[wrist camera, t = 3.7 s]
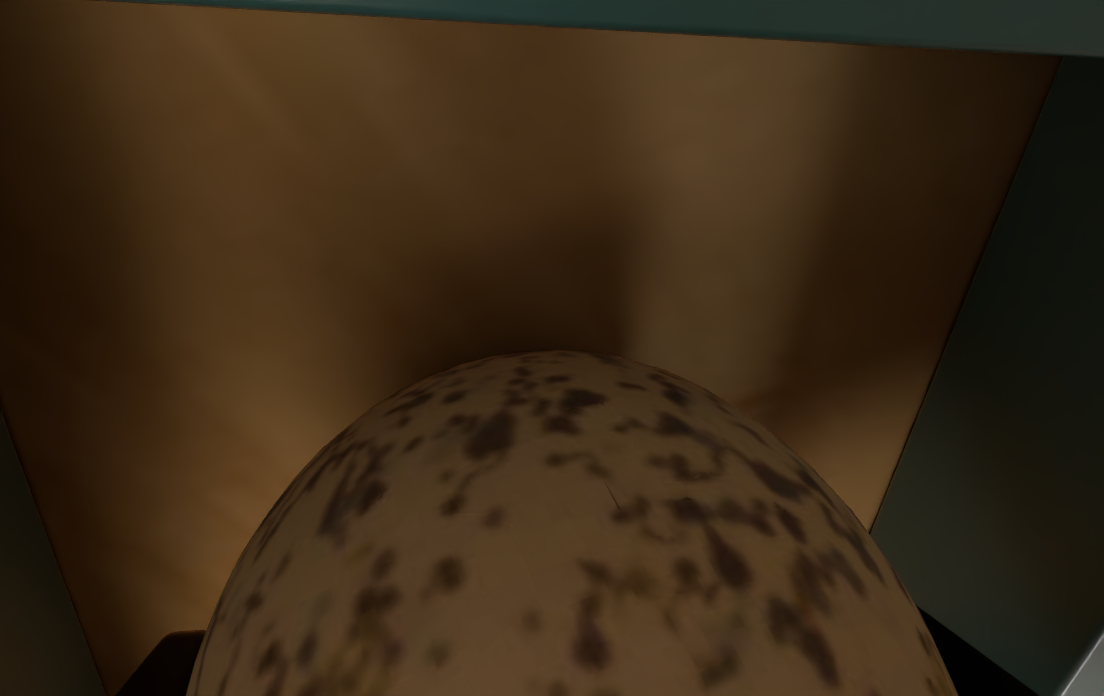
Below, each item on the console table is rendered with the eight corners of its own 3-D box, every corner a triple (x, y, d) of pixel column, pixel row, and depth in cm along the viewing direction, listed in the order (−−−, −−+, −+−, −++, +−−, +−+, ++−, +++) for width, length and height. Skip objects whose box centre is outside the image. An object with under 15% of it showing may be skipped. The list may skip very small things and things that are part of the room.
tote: (1168, -63, 9) (1644, -29, 5) (831, 703, 16) (942, 916, 13) (-331, -204, 6) (-1232, -308, 3) (93, 788, 14) (-9, 1085, 10)
